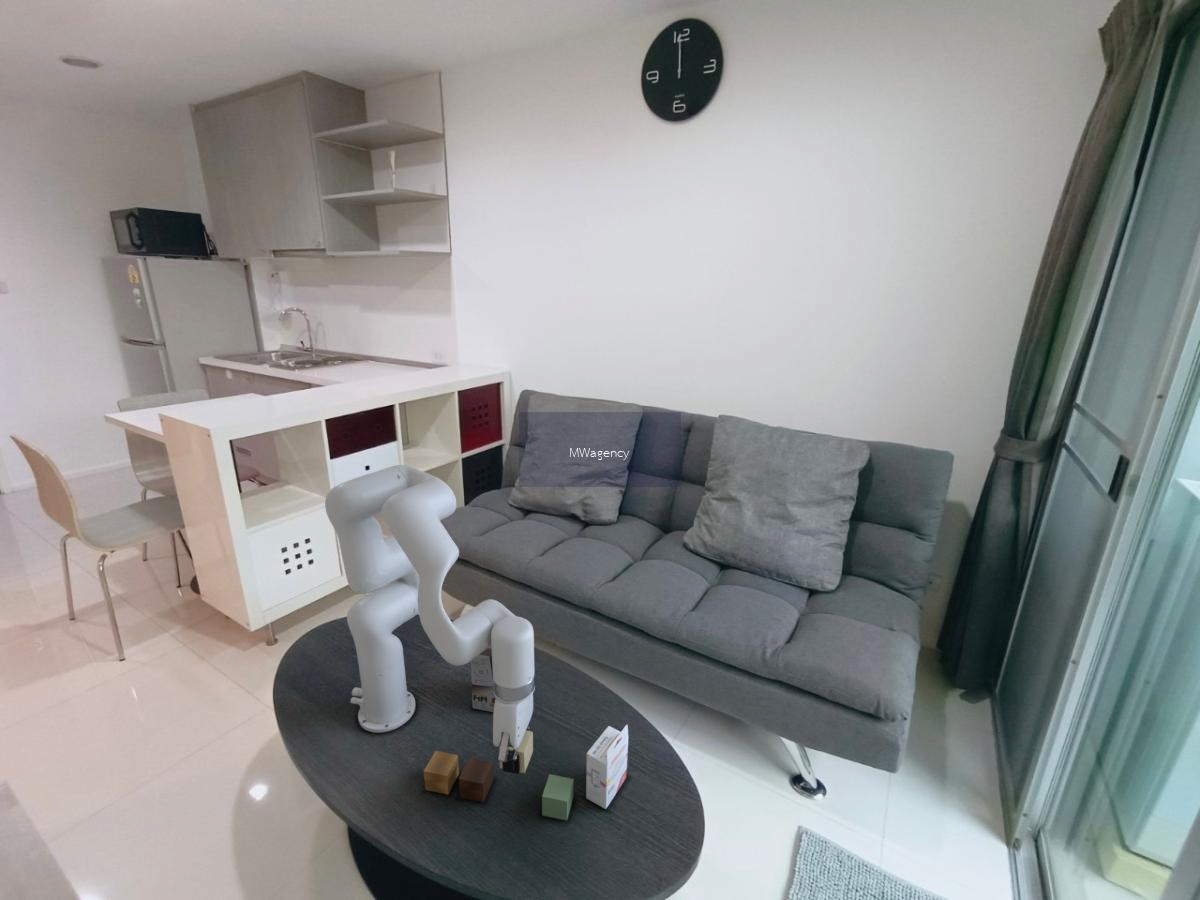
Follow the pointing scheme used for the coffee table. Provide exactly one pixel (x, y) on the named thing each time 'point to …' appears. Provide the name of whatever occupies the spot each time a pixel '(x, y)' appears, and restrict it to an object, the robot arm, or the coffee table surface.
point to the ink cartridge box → (607, 766)
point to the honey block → (441, 772)
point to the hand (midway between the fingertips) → (516, 757)
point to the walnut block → (476, 779)
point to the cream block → (523, 751)
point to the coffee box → (483, 681)
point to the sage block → (557, 797)
